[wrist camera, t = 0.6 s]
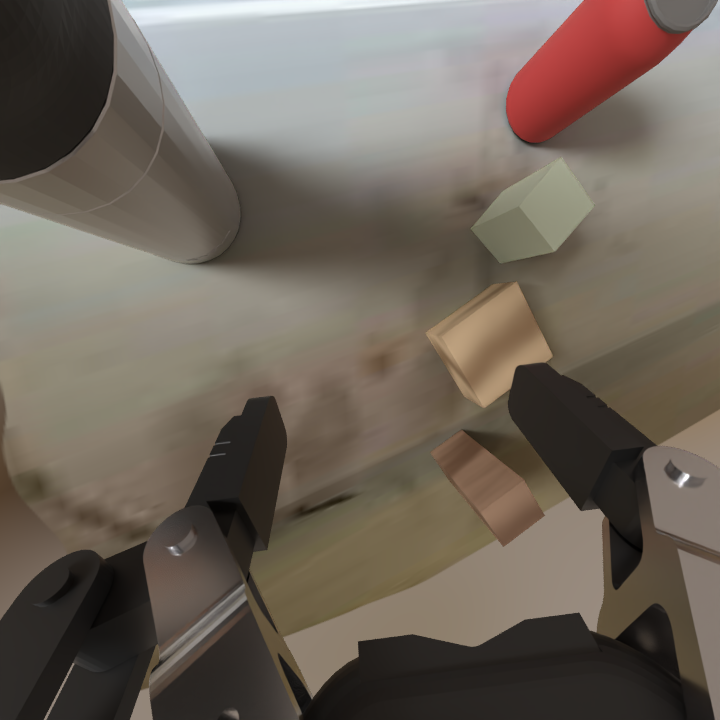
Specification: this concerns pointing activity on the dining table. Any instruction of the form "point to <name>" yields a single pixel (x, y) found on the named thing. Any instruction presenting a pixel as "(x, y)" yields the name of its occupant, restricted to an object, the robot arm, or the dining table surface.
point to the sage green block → (534, 214)
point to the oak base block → (489, 342)
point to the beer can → (596, 59)
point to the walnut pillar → (488, 487)
